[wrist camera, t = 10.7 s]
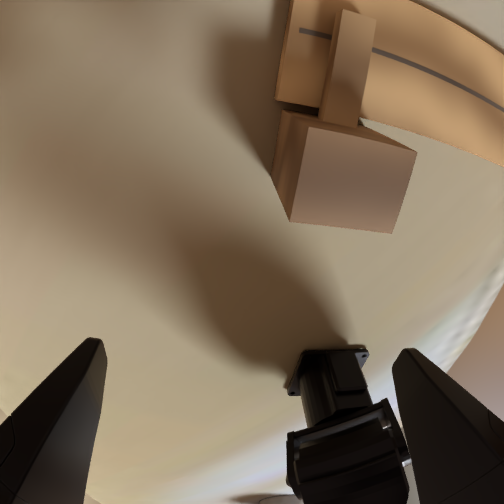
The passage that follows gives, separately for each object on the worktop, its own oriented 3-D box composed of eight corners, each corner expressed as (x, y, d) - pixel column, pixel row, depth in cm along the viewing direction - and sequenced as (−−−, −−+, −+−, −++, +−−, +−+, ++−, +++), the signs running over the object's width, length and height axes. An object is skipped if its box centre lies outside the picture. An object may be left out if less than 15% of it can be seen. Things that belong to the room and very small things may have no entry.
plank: (511, 169, 19) (520, 175, 18) (273, 98, 16) (277, 100, 15) (530, 82, 15) (541, 84, 14) (295, -30, 12) (300, -37, 11)
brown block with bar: (349, 187, 19) (391, 233, 14) (270, 176, 18) (289, 221, 13) (381, 33, 14) (442, 26, 9) (298, 9, 13) (333, -17, 8)
